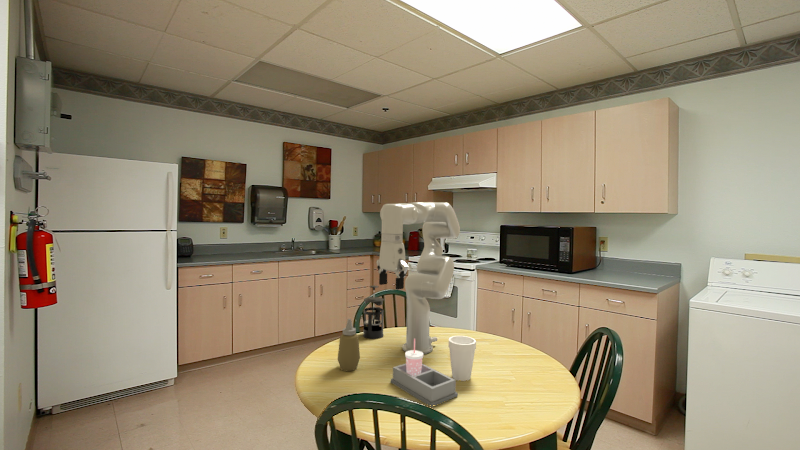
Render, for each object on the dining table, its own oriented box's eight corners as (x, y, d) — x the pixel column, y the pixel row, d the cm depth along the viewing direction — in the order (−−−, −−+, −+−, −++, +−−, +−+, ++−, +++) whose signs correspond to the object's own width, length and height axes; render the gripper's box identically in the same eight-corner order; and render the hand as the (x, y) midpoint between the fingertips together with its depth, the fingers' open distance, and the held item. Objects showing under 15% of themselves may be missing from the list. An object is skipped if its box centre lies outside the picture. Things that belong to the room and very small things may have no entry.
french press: (378, 340, 168) (379, 288, 167) (359, 338, 170) (359, 287, 169) (387, 332, 179) (388, 284, 178) (368, 330, 182) (369, 282, 181)
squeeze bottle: (355, 374, 133) (356, 323, 132) (334, 371, 134) (334, 321, 134) (362, 365, 141) (363, 316, 140) (342, 362, 142) (342, 315, 142)
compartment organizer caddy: (390, 382, 127) (390, 367, 127) (415, 374, 134) (415, 359, 134) (431, 407, 111) (432, 390, 111) (457, 396, 118) (458, 380, 118)
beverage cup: (406, 375, 130) (407, 334, 129) (424, 377, 128) (425, 336, 128) (402, 382, 124) (403, 340, 124) (420, 385, 123) (421, 342, 122)
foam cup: (476, 373, 135) (477, 337, 135) (473, 384, 126) (474, 346, 126) (450, 369, 138) (451, 334, 138) (445, 380, 129) (445, 342, 129)
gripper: (415, 240, 130) (414, 289, 131) (386, 236, 144) (385, 281, 145) (398, 240, 126) (397, 292, 126) (369, 237, 139) (368, 283, 140)
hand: (391, 286), depth 135 cm, fingers open, 9 cm apart
